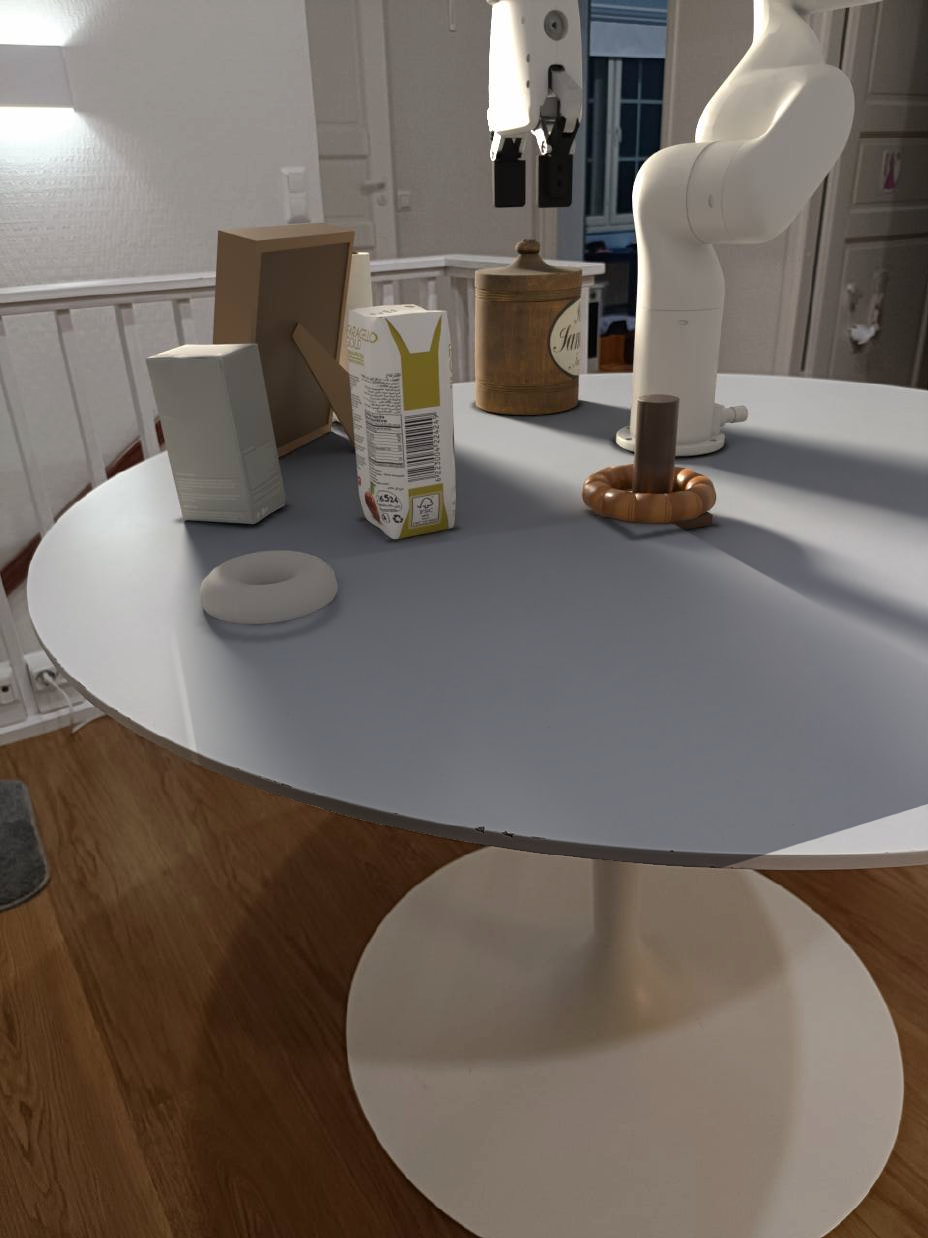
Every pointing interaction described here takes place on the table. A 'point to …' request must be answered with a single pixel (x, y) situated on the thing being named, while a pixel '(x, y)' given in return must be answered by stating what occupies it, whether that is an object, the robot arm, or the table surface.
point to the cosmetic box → (218, 432)
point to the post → (658, 450)
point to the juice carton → (403, 417)
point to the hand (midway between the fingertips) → (530, 207)
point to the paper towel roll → (356, 298)
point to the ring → (648, 496)
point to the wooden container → (527, 335)
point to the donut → (268, 587)
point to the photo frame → (290, 320)
